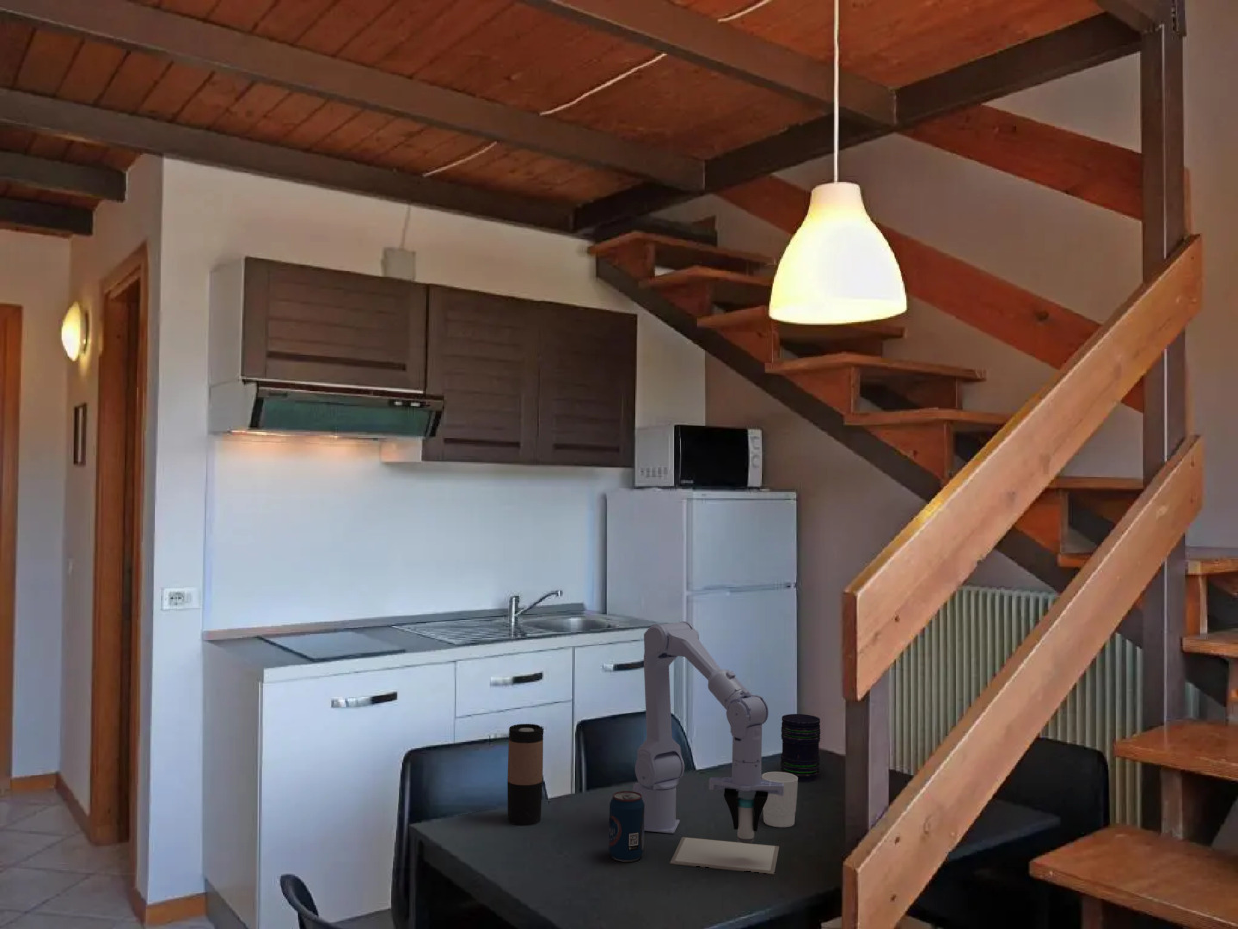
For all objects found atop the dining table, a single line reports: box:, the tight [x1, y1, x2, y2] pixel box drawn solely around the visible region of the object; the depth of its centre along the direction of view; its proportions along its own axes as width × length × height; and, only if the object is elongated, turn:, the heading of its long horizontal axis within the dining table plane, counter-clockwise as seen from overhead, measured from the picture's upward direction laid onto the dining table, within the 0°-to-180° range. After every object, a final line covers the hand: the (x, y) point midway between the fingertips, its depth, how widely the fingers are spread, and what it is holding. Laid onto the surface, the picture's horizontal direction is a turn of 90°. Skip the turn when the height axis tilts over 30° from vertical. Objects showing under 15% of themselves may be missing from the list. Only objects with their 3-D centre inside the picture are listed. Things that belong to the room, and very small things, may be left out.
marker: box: [737, 796, 755, 844], centre depth 196 cm, size 3×3×8 cm
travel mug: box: [506, 723, 544, 826], centre depth 217 cm, size 8×8×20 cm
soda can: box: [608, 790, 645, 863], centre depth 197 cm, size 7×7×12 cm
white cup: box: [761, 771, 799, 828], centre depth 219 cm, size 8×8×10 cm
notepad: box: [669, 836, 780, 875], centre depth 198 cm, size 20×15×1 cm
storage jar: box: [780, 713, 821, 784], centre depth 254 cm, size 10×10×15 cm
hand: (745, 829), depth 196 cm, fingers closed on marker, 3 cm apart
